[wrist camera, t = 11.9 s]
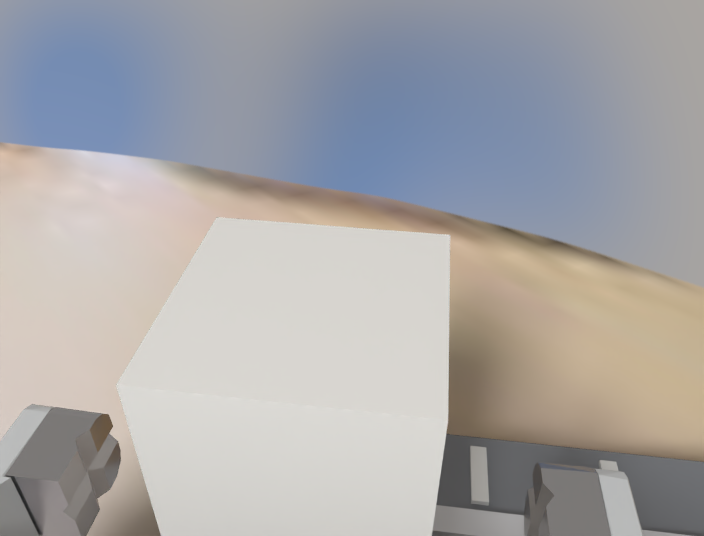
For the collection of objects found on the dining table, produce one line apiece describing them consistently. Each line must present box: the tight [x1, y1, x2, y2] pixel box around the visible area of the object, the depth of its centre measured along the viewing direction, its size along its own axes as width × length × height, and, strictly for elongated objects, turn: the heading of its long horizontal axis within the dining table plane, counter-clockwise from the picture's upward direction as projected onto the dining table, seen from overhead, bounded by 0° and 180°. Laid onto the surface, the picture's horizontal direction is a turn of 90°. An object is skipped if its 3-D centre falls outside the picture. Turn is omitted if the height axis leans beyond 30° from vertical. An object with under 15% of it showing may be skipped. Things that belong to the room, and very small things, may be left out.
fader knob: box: [116, 217, 450, 536], centre depth 12 cm, size 6×5×10 cm
